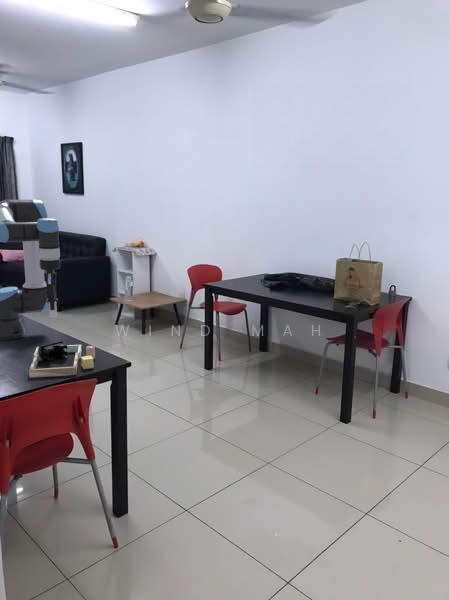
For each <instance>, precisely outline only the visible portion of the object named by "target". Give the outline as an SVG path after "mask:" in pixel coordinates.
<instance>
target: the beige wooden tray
mask: <svg viewBox="0 0 449 600" xmlns="http://www.w3.org/2000/svg"><path fill="white" fill-rule="evenodd" d="M79 361H80V359H79V358H78V352H75V356H74V360H73V366H62V367H61V366H60V367H47V368H46V367H44V368H37V366H38V364H39V357H38V355H35V357H34V356H33V360H32V362H31V364H30V367H29V369H28V374H29V379H31V378H32V379H33V378H45V377H46V378H47V377H48V378H51V377H62V376H63V377H65V376H75V375H77V373H78V371H77V370H78V366H79Z"/></svg>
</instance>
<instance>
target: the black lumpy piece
mask: <svg viewBox="0 0 449 600" xmlns="http://www.w3.org/2000/svg"><path fill="white" fill-rule="evenodd" d="M38 347H39V348H38V353H39V357H38V358H40V359H41V360H42V361H43V362H44V363H46V364H52V363H56V362H58V361H63V360H67V359H68V354H69V352H67V351H65V350H64V348H66V349H67V348H68V347H67V344H65V343H64V341H63V340H60V341H55V342H52V343H47V344H43V345H39V346H38Z"/></svg>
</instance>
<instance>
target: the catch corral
mask: <svg viewBox="0 0 449 600" xmlns="http://www.w3.org/2000/svg"><path fill="white" fill-rule="evenodd" d="M66 345H67V344H66ZM39 347H40V346H37V347H35V351H34V353H33V358H34V357H35V355H38V358H40V357H39V353H38V348H39ZM67 347H68V348H67V349H66V348H64V350H65V351H67V352H68V353H78V358H79V360H81V357H82V351H83V350H82V344H69V345H67Z"/></svg>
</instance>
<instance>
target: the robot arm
mask: <svg viewBox="0 0 449 600" xmlns="http://www.w3.org/2000/svg"><path fill="white" fill-rule="evenodd" d="M59 229H60V227H59V221H58V220H57V219H56V218H49V217H48V213H47V210H46V206H45V203H44V202H43V201H42V200H39V199H4V200H0V243H16V242H22V247H23V248H22V249H23V252H22V253H23V262H24V263H23V264H24V277H25V282H24V283H23V284H22V289H19V287H18V286H7V287H6V286H5V287H1V288H0V341H4V342H5V341H14V340H18V339H21V338H23V337H25V336H26V329H25V326H24V325H23V322H22V320H21V315H22V314H23V315H25V314H33V313H35V314H36V313H42V312H43V313H44V312H48V313H49V314H48V315H49V316H48V317H49V319H55V318H56V319H57V318H58V308H57V307H58V306H57V301H59V299H58V298H57V272H56V270H60V268H61V259H60V257H61V251H60V250H61V249H60V239H59V237H60V236H59ZM45 271H46V273H45Z"/></svg>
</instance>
